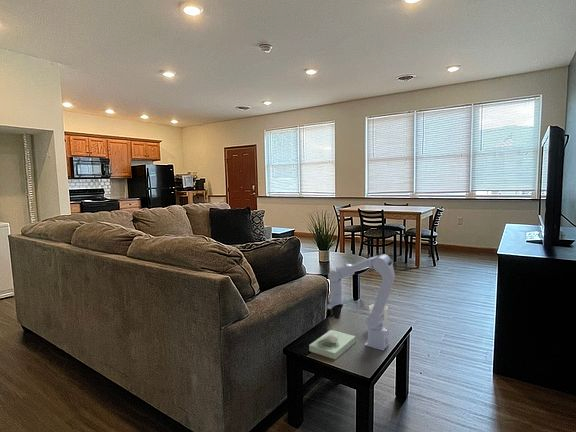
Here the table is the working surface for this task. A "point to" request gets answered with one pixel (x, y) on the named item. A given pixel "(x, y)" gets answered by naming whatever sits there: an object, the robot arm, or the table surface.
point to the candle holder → (384, 314)
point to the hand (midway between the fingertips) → (336, 318)
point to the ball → (333, 338)
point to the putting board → (332, 344)
